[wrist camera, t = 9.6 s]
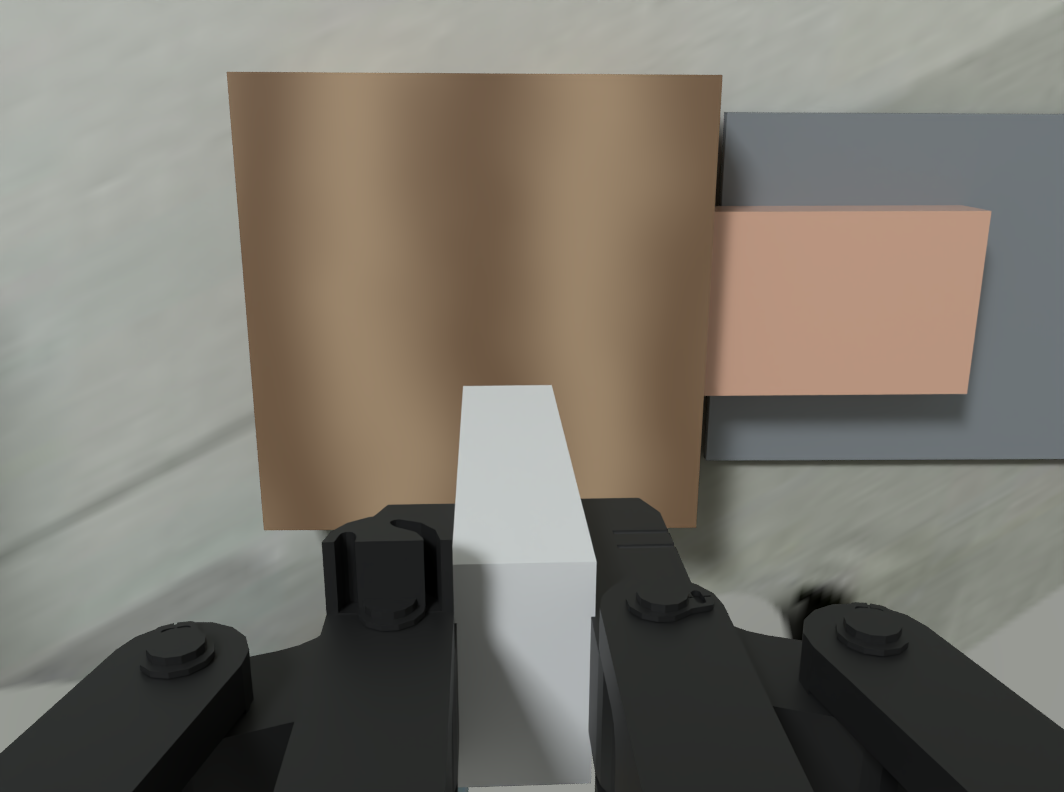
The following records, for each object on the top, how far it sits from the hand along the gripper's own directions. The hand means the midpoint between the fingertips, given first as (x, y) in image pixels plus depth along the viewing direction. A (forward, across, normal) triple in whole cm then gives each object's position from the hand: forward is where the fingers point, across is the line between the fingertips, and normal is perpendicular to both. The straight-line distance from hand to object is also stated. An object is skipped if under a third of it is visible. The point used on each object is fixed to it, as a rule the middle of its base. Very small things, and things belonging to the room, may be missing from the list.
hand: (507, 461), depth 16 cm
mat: (+17, +15, 0) cm, 22 cm away
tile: (+16, +11, 0) cm, 20 cm away
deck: (+17, 0, 0) cm, 17 cm away
